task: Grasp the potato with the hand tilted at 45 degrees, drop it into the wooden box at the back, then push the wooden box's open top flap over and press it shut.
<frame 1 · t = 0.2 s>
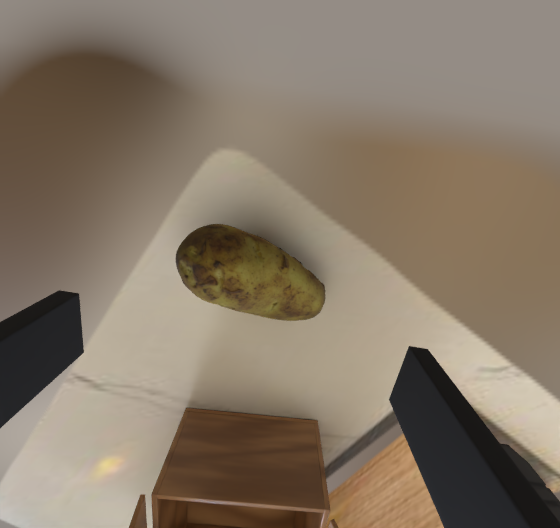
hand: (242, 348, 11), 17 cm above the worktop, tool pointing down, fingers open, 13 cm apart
potato: (259, 265, 28), on the worktop
wooden box: (245, 474, 37), on the worktop
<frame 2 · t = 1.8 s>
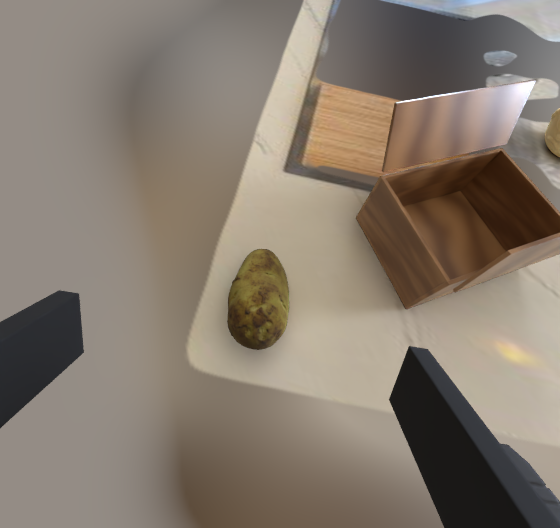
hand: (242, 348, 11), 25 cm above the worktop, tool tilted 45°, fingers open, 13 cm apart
potato: (260, 305, 38), on the worktop
flap: (458, 126, 36), point 14 cm above the worktop, hinge at 115.0°
wooden box: (435, 242, 45), on the worktop
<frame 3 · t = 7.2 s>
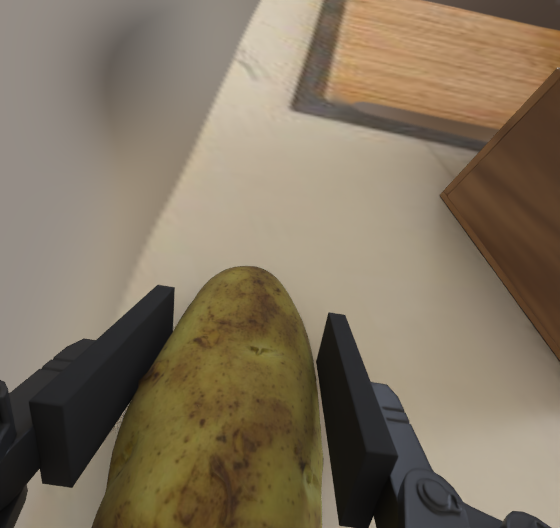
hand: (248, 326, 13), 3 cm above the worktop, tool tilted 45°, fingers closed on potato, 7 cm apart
potato: (241, 409, 15), on the worktop, touching gripper
when the fingers open (14 cm above the worktop, at t = 15.2 s): potato drops 10 cm, resting on wooden box.
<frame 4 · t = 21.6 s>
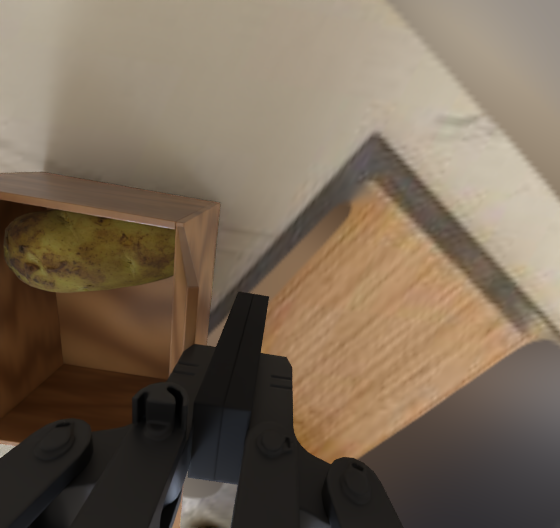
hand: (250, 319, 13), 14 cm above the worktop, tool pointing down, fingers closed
potato: (137, 238, 27), resting on wooden box
flap: (174, 422, 16), point 14 cm above the worktop, hinge at 112.7°, touching gripper
wooden box: (132, 292, 29), on the worktop
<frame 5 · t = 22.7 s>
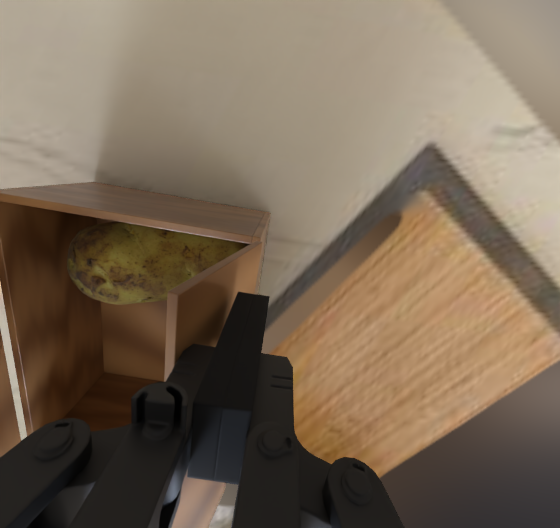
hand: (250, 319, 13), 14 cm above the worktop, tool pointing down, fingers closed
potato: (185, 248, 26), resting on wooden box
flap: (208, 435, 16), point 14 cm above the worktop, hinge at 75.7°, touching gripper
wooden box: (177, 301, 29), on the worktop
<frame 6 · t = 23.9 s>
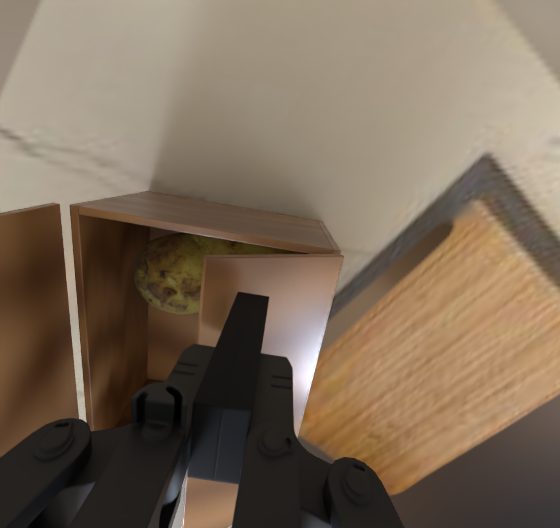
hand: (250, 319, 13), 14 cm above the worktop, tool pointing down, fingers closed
potato: (236, 256, 27), resting on wooden box
flap: (254, 413, 17), point 12 cm above the worktop, hinge at 30.6°
wooden box: (224, 308, 29), on the worktop
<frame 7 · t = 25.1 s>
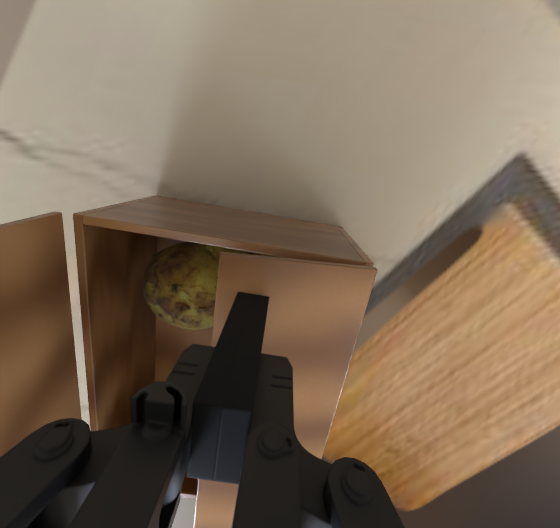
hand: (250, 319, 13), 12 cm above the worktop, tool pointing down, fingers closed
potato: (249, 264, 25), resting on wooden box
flap: (270, 422, 17), point 11 cm above the worktop, hinge at 11.7°, touching gripper
wooden box: (235, 319, 27), on the worktop
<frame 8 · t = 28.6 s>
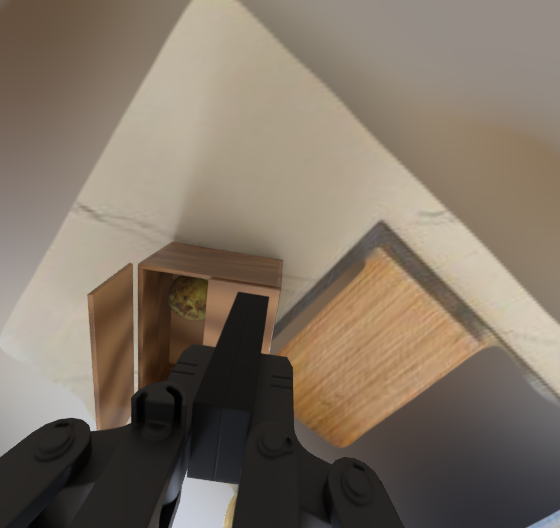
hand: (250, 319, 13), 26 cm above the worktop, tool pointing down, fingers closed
potato: (228, 282, 41), resting on wooden box
flap: (234, 362, 34), point 10 cm above the worktop, hinge at 0.6°
wooden box: (220, 315, 44), on the worktop
sculpture: (257, 493, 57), on the worktop
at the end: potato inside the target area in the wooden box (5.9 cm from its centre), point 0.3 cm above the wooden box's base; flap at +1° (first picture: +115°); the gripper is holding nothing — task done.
